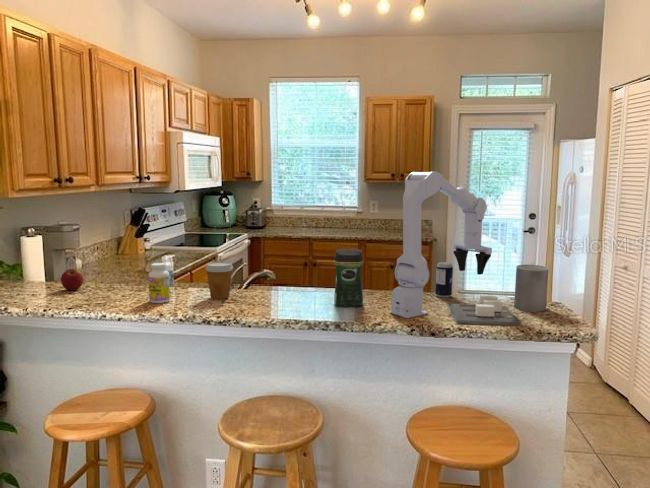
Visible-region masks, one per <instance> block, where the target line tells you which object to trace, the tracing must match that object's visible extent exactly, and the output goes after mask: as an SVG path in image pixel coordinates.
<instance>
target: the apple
mask: <svg viewBox="0 0 650 488" xmlns="http://www.w3.org/2000/svg"><path fill="white" fill-rule="evenodd" d="M84 279H85V278H84V275H83V273H82V272H81V271H80V270H78V269H76V268H70V269H67V270H64V272H63V273H62V275H61V276H60V283H61V285H62V287H63V288H64V289H65V290H66V291H69V290H70V291H72V290H74V291H77V290H78V289H80V288H81V287H82V286H83V283H84V281H85V280H84Z"/></svg>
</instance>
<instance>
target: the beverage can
mask: <svg viewBox="0 0 650 488" xmlns="http://www.w3.org/2000/svg"><path fill="white" fill-rule="evenodd" d="M435 272H436V273H435V295H436V296H437V297H438V298H450V296H452V295H453V294H452V293H453V275H454V274H453V273H454V267H453V263H452V262H449V261H448V262H446V261H440V262H439V261H438V262H437V265H436V271H435Z"/></svg>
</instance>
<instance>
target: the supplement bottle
mask: <svg viewBox="0 0 650 488" xmlns="http://www.w3.org/2000/svg"><path fill="white" fill-rule="evenodd" d="M150 267H151V271H149V272H148V293H149V294H148V295H149V296H148V297H149V302H150V303H151V304H152V303H153V304H165V303H168V302H169V301H170V300H171V289H170V287H171V286H170V285H171V283H170V273H169V271H168V270H166V268H167V263H166V262H154V263H151V265H150ZM164 302H165V303H164Z"/></svg>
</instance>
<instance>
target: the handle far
mask: <svg viewBox="0 0 650 488" xmlns="http://www.w3.org/2000/svg"><path fill="white" fill-rule="evenodd" d="M484 300H498V296H497V295H483V294H482V295H479V304H484Z"/></svg>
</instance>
